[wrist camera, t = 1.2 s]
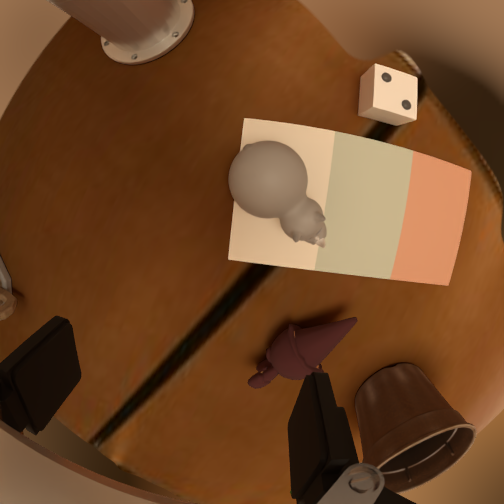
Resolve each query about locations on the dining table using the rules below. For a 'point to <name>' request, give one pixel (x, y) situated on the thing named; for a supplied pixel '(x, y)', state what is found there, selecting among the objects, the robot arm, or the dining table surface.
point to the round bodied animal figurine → (277, 190)
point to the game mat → (362, 208)
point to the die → (388, 95)
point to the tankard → (6, 293)
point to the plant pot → (409, 428)
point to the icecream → (300, 351)
